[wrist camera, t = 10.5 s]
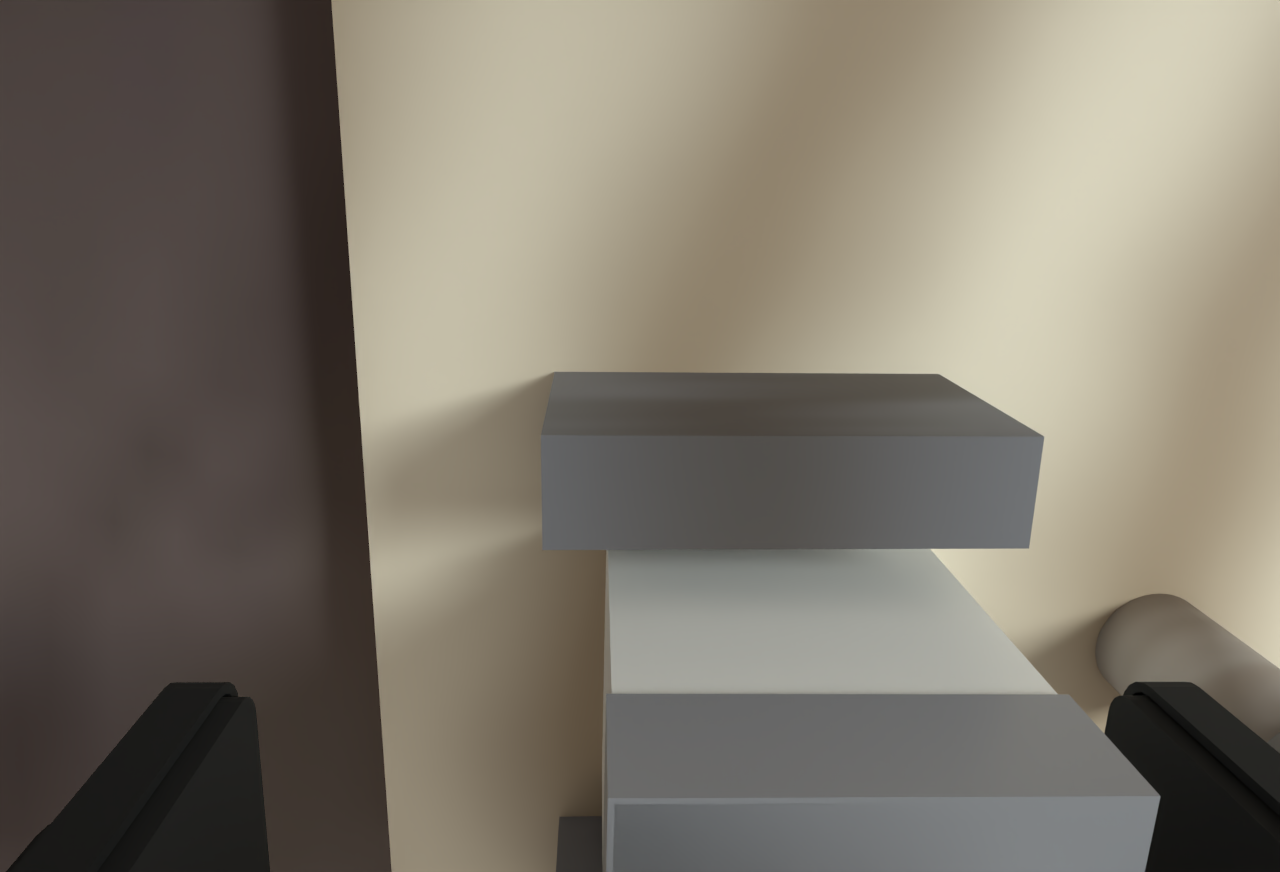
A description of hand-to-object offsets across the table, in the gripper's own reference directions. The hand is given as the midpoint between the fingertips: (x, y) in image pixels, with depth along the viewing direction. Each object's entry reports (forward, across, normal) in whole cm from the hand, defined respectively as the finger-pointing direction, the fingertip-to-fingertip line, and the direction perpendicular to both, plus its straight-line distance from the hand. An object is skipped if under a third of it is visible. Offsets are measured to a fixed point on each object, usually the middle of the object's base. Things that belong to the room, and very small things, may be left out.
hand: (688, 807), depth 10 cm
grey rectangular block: (+4, -1, 0) cm, 4 cm away
